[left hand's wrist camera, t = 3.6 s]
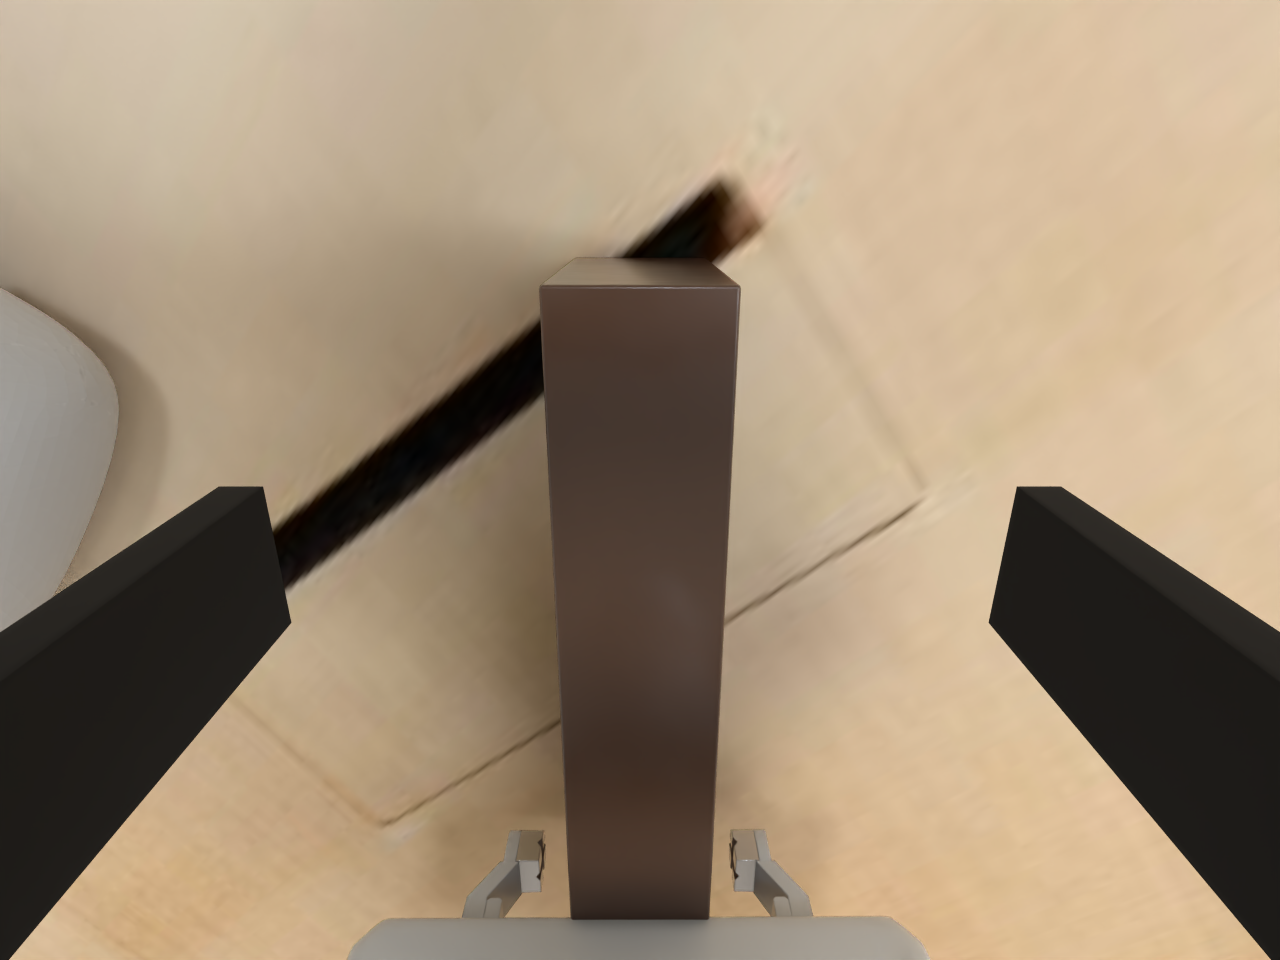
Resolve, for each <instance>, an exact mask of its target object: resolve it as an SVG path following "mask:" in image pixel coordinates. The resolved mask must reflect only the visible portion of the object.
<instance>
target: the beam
mask: <svg viewBox="0 0 1280 960" xmlns="http://www.w3.org/2000/svg"><path fill="white" fill-rule="evenodd" d="M740 295H741V288H740V285H738V284H737V283H736V282H735V281H733V280H732V279H731V278H729V277H728V276H727V275H726V274H724V273H723V272H722V271H721V270H719V269H718V268H717V267H716V266H714V265H713V264H712V263H711V262H709V261H708V260H707V259H705V258H575V259H573V260H572V261H571V262H569V263H568V264H567V265H566V266H564V267H563V268H562V269H561V270H559V271H558V272H557V273H556V274H554V275H553V276H552V277H551V278H549V279H548V280H547V281H545V282H544V283H543V284H542V285H540V287H539V296H540V316H541V336H542V356H543V375H544V395H545V415H546V435H547V455H548V475H549V495H550V515H551V535H552V555H553V575H554V595H555V615H556V635H557V654H558V674H559V694H560V714H561V734H562V754H563V774H564V794H565V814H566V834H567V854H568V874H569V894H570V913H571V919H572V920H708V919H709V913H710V893H711V873H712V853H713V833H714V813H715V793H716V773H717V753H718V733H719V714H720V694H721V674H722V654H723V634H724V614H725V594H726V574H727V554H728V534H729V514H730V494H731V474H732V454H733V434H734V414H735V395H736V375H737V355H738V335H739V315H740Z"/></svg>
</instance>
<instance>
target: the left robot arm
mask: <svg viewBox="0 0 1280 960" xmlns="http://www.w3.org/2000/svg"><path fill="white" fill-rule="evenodd" d="M290 624H291V619H290V614H289V609H288V604H287V600H286V595H285V590H284V585H283V580H282V575H281V571H280V566H279V561H278V556H277V551H276V547H275V542H274V537H273V532H272V527H271V523H270V518H269V513H268V508H267V503H266V499H265V494H264V489H263V487H218V488H216V489H215V490H213V491H212V492H210V493H209V494H207V495H206V496H204V497H203V498H201V499H200V500H198V501H197V502H195V503H194V504H192V505H191V506H189V507H188V508H186V509H185V510H183V511H182V512H180V513H179V514H177V515H176V516H174V517H173V518H171V519H170V520H168V521H167V522H165V523H164V524H162V525H161V526H159V527H158V528H156V529H155V530H153V531H152V532H150V533H149V534H147V535H145V536H144V537H142V538H141V539H139V540H138V541H136V542H135V543H133V544H132V545H130V546H129V547H127V548H126V549H124V550H123V551H121V552H120V553H118V554H117V555H115V556H114V557H112V558H111V559H109V560H108V561H106V562H105V563H103V564H102V565H100V566H99V567H97V568H96V569H94V570H93V571H91V572H90V573H88V574H87V575H85V576H84V577H82V578H81V579H79V580H78V581H76V582H75V583H73V584H72V585H70V586H69V587H67V588H66V589H64V590H63V591H61V592H60V593H58V594H57V595H55V596H54V597H52V598H51V599H49V600H48V601H46V602H45V603H43V604H42V605H40V606H39V607H37V608H36V609H34V610H33V611H31V612H30V613H28V614H27V615H25V616H24V617H22V618H21V619H19V620H18V621H16V622H15V623H13V624H12V625H10V626H9V627H7V628H6V629H4V630H3V631H1V632H0V960H9V959H10V958H11V957H12V955H13V954H14V953H15V952H16V951H17V949H18V948H19V947H20V946H21V945H22V943H23V942H24V941H25V940H26V939H27V937H28V936H29V935H30V934H31V933H32V932H33V930H34V929H35V928H36V927H37V926H38V924H39V923H40V922H41V921H42V920H43V918H44V917H45V916H46V915H47V914H48V912H49V911H50V910H51V909H52V908H53V906H54V905H55V904H56V903H57V902H58V901H59V899H60V898H61V897H62V896H63V895H64V893H65V892H66V891H67V890H68V889H69V887H70V886H71V885H72V884H73V883H74V881H75V880H76V879H77V878H78V877H79V875H80V874H81V873H82V872H83V871H84V869H85V868H86V867H87V866H88V865H89V864H90V862H91V861H92V860H93V859H94V858H95V856H96V855H97V854H98V853H99V852H100V850H101V849H102V848H103V847H104V846H105V844H106V843H107V842H108V841H109V840H110V838H111V837H112V836H113V835H114V834H115V832H116V831H117V830H118V829H119V828H120V827H121V825H122V824H123V823H124V822H125V821H126V819H127V818H128V817H129V816H130V815H131V813H132V812H133V811H134V810H135V809H136V807H137V806H138V805H139V804H140V803H141V801H142V800H143V799H144V798H145V797H146V795H147V794H148V793H149V792H150V791H151V790H152V788H153V787H154V786H155V785H156V784H157V782H158V781H159V780H160V779H161V778H162V776H163V775H164V774H165V773H166V772H167V770H168V769H169V768H170V767H171V766H172V764H173V763H174V762H175V761H176V760H177V759H178V757H179V756H180V755H181V754H182V753H183V751H184V750H185V749H186V748H187V747H188V745H189V744H190V743H191V742H192V741H193V739H194V738H195V737H196V736H197V735H198V733H199V732H200V731H201V730H202V729H203V727H204V726H205V725H206V724H207V723H208V722H209V720H210V719H211V718H212V717H213V716H214V714H215V713H216V712H217V711H218V710H219V708H220V707H221V706H222V705H223V704H224V702H225V701H226V700H227V699H228V698H229V696H230V695H231V694H232V693H233V692H234V690H235V689H236V688H237V687H238V686H239V685H240V683H241V682H242V681H243V680H244V679H245V677H246V676H247V675H248V674H249V673H250V671H251V670H252V669H253V668H254V667H255V665H256V664H257V663H258V662H259V661H260V659H261V658H262V657H263V656H264V655H265V654H266V652H267V651H268V650H269V649H270V648H271V646H272V645H273V644H274V643H275V642H276V640H277V639H278V638H279V637H280V636H281V634H282V633H283V632H284V631H285V630H286V628H287V627H288V626H289V625H290ZM989 624H990V625H991V626H992V627H993V628H994V630H995V631H996V632H997V633H998V634H999V636H1000V637H1001V638H1002V639H1003V640H1004V642H1005V643H1006V644H1007V645H1008V646H1009V648H1010V649H1011V650H1012V651H1013V652H1014V654H1015V655H1016V656H1017V657H1018V658H1019V659H1020V661H1021V662H1022V663H1023V664H1024V665H1025V667H1026V668H1027V669H1028V670H1029V671H1030V673H1031V674H1032V675H1033V676H1034V677H1035V679H1036V680H1037V681H1038V682H1039V683H1040V685H1041V686H1042V687H1043V688H1044V689H1045V690H1046V692H1047V693H1048V694H1049V695H1050V696H1051V698H1052V699H1053V700H1054V701H1055V702H1056V704H1057V705H1058V706H1059V707H1060V708H1061V710H1062V711H1063V712H1064V713H1065V714H1066V716H1067V717H1068V718H1069V719H1070V720H1071V722H1072V723H1073V724H1074V725H1075V726H1076V727H1077V729H1078V730H1079V731H1080V732H1081V733H1082V735H1083V736H1084V737H1085V738H1086V739H1087V741H1088V742H1089V743H1090V744H1091V745H1092V747H1093V748H1094V749H1095V750H1096V751H1097V753H1098V754H1099V755H1100V756H1101V757H1102V759H1103V760H1104V761H1105V762H1106V763H1107V764H1108V766H1109V767H1110V768H1111V769H1112V770H1113V772H1114V773H1115V774H1116V775H1117V776H1118V778H1119V779H1120V780H1121V781H1122V782H1123V784H1124V785H1125V786H1126V787H1127V788H1128V790H1129V791H1130V792H1131V793H1132V794H1133V795H1134V797H1135V798H1136V799H1137V800H1138V801H1139V803H1140V804H1141V805H1142V806H1143V807H1144V809H1145V810H1146V811H1147V812H1148V813H1149V815H1150V816H1151V817H1152V818H1153V819H1154V821H1155V822H1156V823H1157V824H1158V825H1159V827H1160V828H1161V829H1162V830H1163V831H1164V832H1165V834H1166V835H1167V836H1168V837H1169V838H1170V840H1171V841H1172V842H1173V843H1174V844H1175V846H1176V847H1177V848H1178V849H1179V850H1180V852H1181V853H1182V854H1183V855H1184V856H1185V858H1186V859H1187V860H1188V861H1189V862H1190V864H1191V865H1192V866H1193V867H1194V868H1195V869H1196V871H1197V872H1198V873H1199V874H1200V875H1201V877H1202V878H1203V879H1204V880H1205V881H1206V883H1207V884H1208V885H1209V886H1210V887H1211V889H1212V890H1213V891H1214V892H1215V893H1216V895H1217V896H1218V897H1219V898H1220V899H1221V901H1222V902H1223V903H1224V904H1225V905H1226V906H1227V908H1228V909H1229V910H1230V911H1231V912H1232V914H1233V915H1234V916H1235V917H1236V918H1237V920H1238V921H1239V922H1240V923H1241V924H1242V926H1243V927H1244V928H1245V929H1246V930H1247V932H1248V933H1249V934H1250V935H1251V936H1252V937H1253V939H1254V940H1255V941H1256V942H1257V943H1258V945H1259V946H1260V947H1261V948H1262V949H1263V951H1264V952H1265V953H1266V954H1267V955H1268V957H1269V958H1270V959H1271V960H1280V632H1279V631H1277V630H1276V629H1274V628H1273V627H1271V626H1270V625H1268V624H1267V623H1265V622H1264V621H1262V620H1261V619H1259V618H1258V617H1256V616H1255V615H1253V614H1252V613H1250V612H1249V611H1247V610H1246V609H1244V608H1243V607H1241V606H1240V605H1238V604H1237V603H1235V602H1234V601H1232V600H1231V599H1229V598H1228V597H1226V596H1225V595H1223V594H1222V593H1220V592H1219V591H1217V590H1216V589H1214V588H1213V587H1211V586H1210V585H1208V584H1207V583H1205V582H1204V581H1202V580H1201V579H1199V578H1198V577H1196V576H1195V575H1193V574H1192V573H1190V572H1189V571H1187V570H1186V569H1184V568H1183V567H1181V566H1180V565H1178V564H1177V563H1175V562H1174V561H1172V560H1171V559H1169V558H1168V557H1166V556H1165V555H1163V554H1162V553H1160V552H1159V551H1157V550H1156V549H1154V548H1153V547H1151V546H1150V545H1148V544H1147V543H1145V542H1144V541H1142V540H1141V539H1139V538H1138V537H1136V536H1135V535H1133V534H1131V533H1130V532H1128V531H1127V530H1125V529H1124V528H1122V527H1121V526H1119V525H1118V524H1116V523H1115V522H1113V521H1112V520H1110V519H1109V518H1107V517H1106V516H1104V515H1103V514H1101V513H1100V512H1098V511H1097V510H1095V509H1094V508H1092V507H1091V506H1089V505H1088V504H1086V503H1085V502H1083V501H1082V500H1080V499H1079V498H1077V497H1076V496H1074V495H1073V494H1071V493H1070V492H1068V491H1067V490H1065V489H1064V488H1062V487H1017V489H1016V494H1015V499H1014V503H1013V508H1012V513H1011V518H1010V523H1009V527H1008V532H1007V537H1006V542H1005V547H1004V551H1003V556H1002V561H1001V566H1000V571H999V575H998V580H997V585H996V590H995V595H994V600H993V604H992V609H991V614H990V619H989Z"/></svg>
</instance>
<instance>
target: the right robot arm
mask: <svg viewBox="0 0 1280 960" xmlns="http://www.w3.org/2000/svg"><path fill="white" fill-rule="evenodd" d="M730 840H731V843H730V844H729V859H730V867H731V869H732V881H733V888H734V891H749V892H753V893H754V894H755V895H756V897H757V898H758V899H759V901H760V902H761V903H762V905H763V906H764V907H765V909H766V910H767V911H768V913H769V914H770V915H771V917H709V919H708V920H572V919H571V918H504V917H505V915H506V914H507V913H508V911H509V910H510V909H511V907H512V906H513V905H514V903H515V902H516V901H517V899H518V898H519V897H520V895H521V894H522V892H541V889H542V882H543V870H544V868H545V858H546V845H545V843H544V841H545V831H538V830H510V832H509V836H508V841H507V846H506V851H505V856H504V861H503V862H499V863H498V865H497V866H496V867H495V868H494V869H493V870H492V871H491V872H490V873H489V874H488V875H487V876H486V877H485V878H484V879H483V880H482V881H481V883H480V884H479V885H478V886H477V887H476V888H475V889H474V890H473V891H472V892H471V893H470V894H469V895H468V896H467V899H466V903H465V907H464V911H463V915H462V918H390V919H385V920H382V921H381V922H380V923H378V924H377V925H376V926H374V927H373V928H372V929H371V930H370V931H368V932H367V933H366V934H365V935H364V936H363V937H362V938H361V939H360V940H358V941H357V942H356V943H355V944H354V946H353V947H352V949H351V951H350V953H349V955H348V958H347V960H930V957H929V955H928V953H927V951H926V949H925V947H924V945H923V944H922V942H921V941H920V940H919V939H918V938H917V937H915V936H914V935H913V934H912V933H911V932H910V931H908V930H907V929H906V928H905V927H904V926H902V925H901V924H900V923H899V922H897V921H896V920H894V919H893V918H891V917H888V916H813V913H812V909H811V905H810V901H809V897H808V895H807V894H806V893H805V892H804V891H803V890H802V889H801V888H800V887H799V886H798V885H797V884H796V882H795V881H794V880H793V879H792V878H791V877H790V876H789V875H788V874H787V873H786V872H785V871H784V870H783V869H782V868H781V867H780V866H779V865H778V864H777V862H776V861H772V860H771V855H770V850H769V846H768V841H767V836H766V831H765V830H764V829H739V830H731V831H730Z"/></svg>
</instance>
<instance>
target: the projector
mask: <svg viewBox="0 0 1280 960" xmlns="http://www.w3.org/2000/svg"><path fill="white" fill-rule="evenodd" d="M118 418H119V404H118V395H117V391H116V388H115V384H114V382H113V380H112V378H111V376H110V374H109V372H108V370H107V369H106V367H105V366H104V364H103V363H102V362H101V361H100V359H99V358H98V357H97V356H96V355H95V354H94V352H93V351H92V350H91V349H89V348H88V347H87V346H86V345H85V344H84V343H83V342H82V341H81V340H80V339H78V338H77V337H76V336H75V335H74V334H73V333H72V332H70V331H69V330H68V329H67V328H65V327H64V326H63V325H61V324H60V323H58V322H57V321H55V320H54V319H52V318H51V317H49V316H48V315H46V314H45V313H43V312H42V311H40V310H39V309H37V308H35V307H34V306H32V305H30V304H28V303H27V302H25V301H23V300H22V299H20V298H18V297H16V296H15V295H13V294H11V293H9V292H8V291H6V290H4V289H2V288H0V632H1V631H3V630H4V629H6V628H7V627H9V626H10V625H12V624H13V623H15V622H16V621H18V620H19V619H21V618H22V617H24V616H25V615H27V614H28V613H30V612H31V611H33V610H34V609H36V608H37V607H39V606H40V605H42V604H43V603H45V602H46V601H48V600H49V599H51V598H52V597H53V595H54V593H55V592H56V590H57V588H58V586H59V585H60V583H61V581H62V579H63V578H64V576H65V574H66V572H67V570H68V568H69V566H70V564H71V562H72V560H73V558H74V556H75V554H76V552H77V550H78V547H79V545H80V543H81V541H82V538H83V536H84V534H85V531H86V529H87V526H88V524H89V522H90V519H91V517H92V515H93V512H94V510H95V507H96V504H97V501H98V499H99V496H100V493H101V490H102V488H103V485H104V482H105V479H106V476H107V472H108V469H109V466H110V462H111V459H112V455H113V451H114V446H115V441H116V436H117V430H118Z"/></svg>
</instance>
